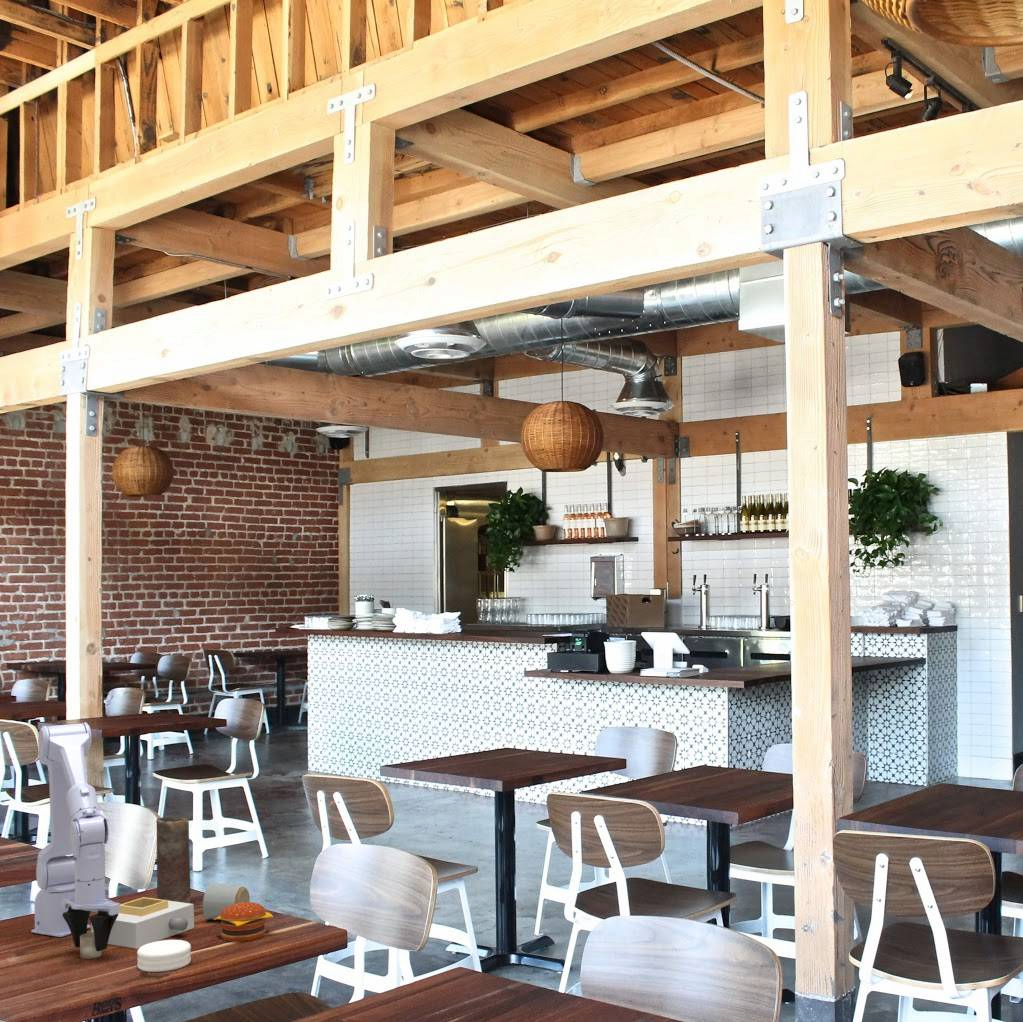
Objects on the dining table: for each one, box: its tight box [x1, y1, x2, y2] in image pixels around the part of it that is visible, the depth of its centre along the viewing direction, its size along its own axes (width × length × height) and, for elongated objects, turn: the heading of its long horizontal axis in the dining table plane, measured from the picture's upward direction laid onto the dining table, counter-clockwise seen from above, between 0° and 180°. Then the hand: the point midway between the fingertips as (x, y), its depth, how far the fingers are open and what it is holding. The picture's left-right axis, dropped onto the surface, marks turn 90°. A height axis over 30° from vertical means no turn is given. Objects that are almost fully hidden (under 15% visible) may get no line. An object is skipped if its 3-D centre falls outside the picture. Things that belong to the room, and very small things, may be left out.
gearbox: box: [90, 896, 195, 950], centre depth 255 cm, size 16×16×6 cm
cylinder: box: [79, 931, 103, 960], centre depth 242 cm, size 4×4×4 cm
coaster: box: [136, 939, 192, 973], centre depth 234 cm, size 10×10×4 cm
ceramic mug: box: [202, 882, 251, 921], centre depth 267 cm, size 11×8×8 cm
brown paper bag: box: [156, 816, 192, 903], centre depth 277 cm, size 8×7×20 cm
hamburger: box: [214, 901, 274, 943], centre depth 252 cm, size 9×10×7 cm
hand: (90, 948), depth 241 cm, fingers open, 5 cm apart
